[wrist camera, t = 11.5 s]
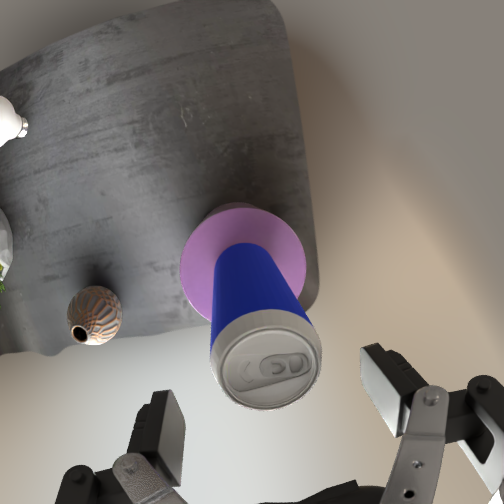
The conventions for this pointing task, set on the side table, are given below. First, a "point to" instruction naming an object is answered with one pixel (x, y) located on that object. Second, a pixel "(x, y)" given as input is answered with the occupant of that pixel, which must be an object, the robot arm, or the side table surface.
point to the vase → (94, 315)
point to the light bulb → (10, 122)
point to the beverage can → (260, 333)
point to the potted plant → (5, 247)
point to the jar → (230, 233)
